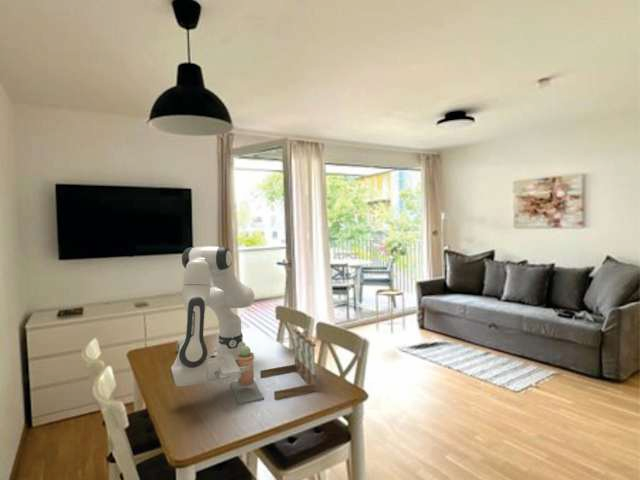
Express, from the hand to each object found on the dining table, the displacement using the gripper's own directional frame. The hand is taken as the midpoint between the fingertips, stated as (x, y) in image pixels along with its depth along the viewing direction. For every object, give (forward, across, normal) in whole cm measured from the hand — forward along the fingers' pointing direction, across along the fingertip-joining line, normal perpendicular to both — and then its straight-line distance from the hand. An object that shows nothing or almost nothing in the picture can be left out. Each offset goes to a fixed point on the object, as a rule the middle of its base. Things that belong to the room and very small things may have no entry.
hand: (247, 363), depth 156 cm
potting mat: (-1, 0, +12) cm, 12 cm away
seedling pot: (-1, 0, +8) cm, 8 cm away
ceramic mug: (-22, +62, +12) cm, 67 cm away
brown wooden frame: (+17, 0, +12) cm, 21 cm away
